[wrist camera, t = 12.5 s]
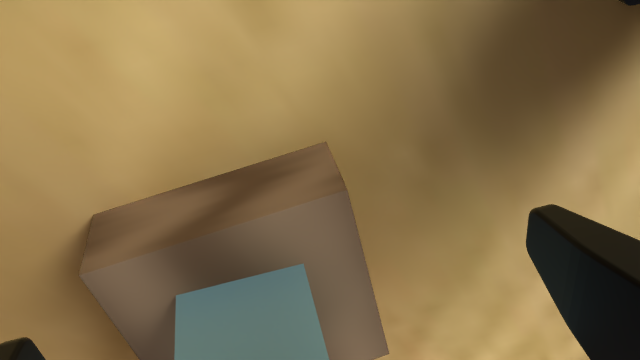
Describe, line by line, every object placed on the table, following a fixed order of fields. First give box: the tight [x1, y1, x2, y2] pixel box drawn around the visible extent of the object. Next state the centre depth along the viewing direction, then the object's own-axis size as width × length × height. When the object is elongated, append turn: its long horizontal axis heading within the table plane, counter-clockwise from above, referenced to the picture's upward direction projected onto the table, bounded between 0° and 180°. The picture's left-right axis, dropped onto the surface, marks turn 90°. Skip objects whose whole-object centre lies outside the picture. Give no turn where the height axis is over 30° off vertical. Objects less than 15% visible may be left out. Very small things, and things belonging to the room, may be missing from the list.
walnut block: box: [79, 142, 389, 360], centre depth 23 cm, size 10×10×4 cm
